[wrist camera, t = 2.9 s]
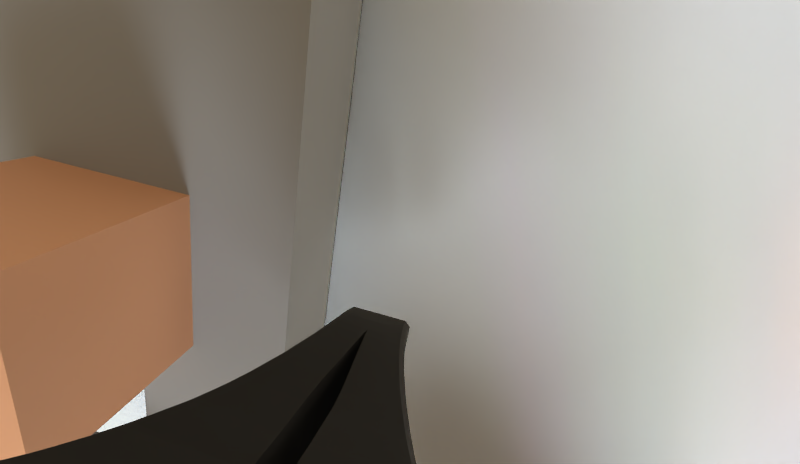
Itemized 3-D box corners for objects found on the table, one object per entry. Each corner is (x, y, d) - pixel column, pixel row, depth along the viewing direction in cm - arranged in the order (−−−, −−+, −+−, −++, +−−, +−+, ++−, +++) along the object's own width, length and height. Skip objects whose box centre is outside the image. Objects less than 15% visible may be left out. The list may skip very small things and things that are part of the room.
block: (189, 195, 10) (-17, 277, 6) (193, 345, 12) (33, 485, 8) (34, 155, 11) (-243, 207, 7) (59, 303, 13) (-151, 413, 9)
